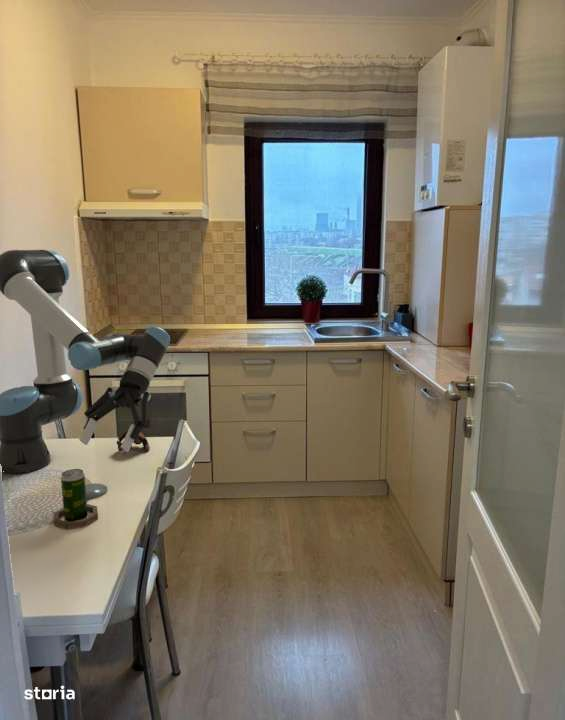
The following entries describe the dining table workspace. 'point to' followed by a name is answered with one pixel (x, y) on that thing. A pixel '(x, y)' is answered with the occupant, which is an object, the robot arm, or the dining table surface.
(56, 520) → the walnut ring
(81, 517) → the beer can
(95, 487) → the slate coaster
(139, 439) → the dark brown arched part
